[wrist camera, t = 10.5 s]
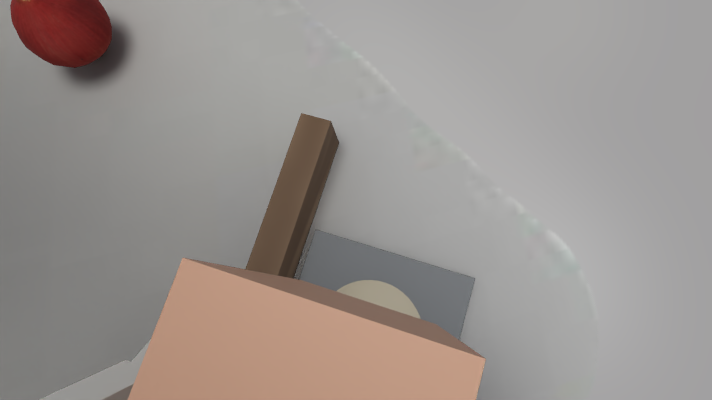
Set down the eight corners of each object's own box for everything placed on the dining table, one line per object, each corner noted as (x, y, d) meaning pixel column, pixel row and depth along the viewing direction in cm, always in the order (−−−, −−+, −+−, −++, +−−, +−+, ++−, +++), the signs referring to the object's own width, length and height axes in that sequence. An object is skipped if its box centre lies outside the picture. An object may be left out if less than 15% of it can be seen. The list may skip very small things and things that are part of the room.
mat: (262, 391, 28) (260, 392, 28) (316, 230, 30) (315, 229, 30) (428, 452, 27) (428, 455, 26) (473, 278, 29) (475, 278, 28)
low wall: (214, 417, 28) (185, 436, 24) (313, 135, 32) (301, 113, 28) (242, 428, 28) (217, 449, 24) (338, 142, 32) (330, 121, 28)
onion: (62, 28, 36) (-30, -45, 28) (129, 12, 36) (55, -67, 28) (66, 92, 35) (-30, 34, 27) (136, 76, 34) (59, 12, 27)
